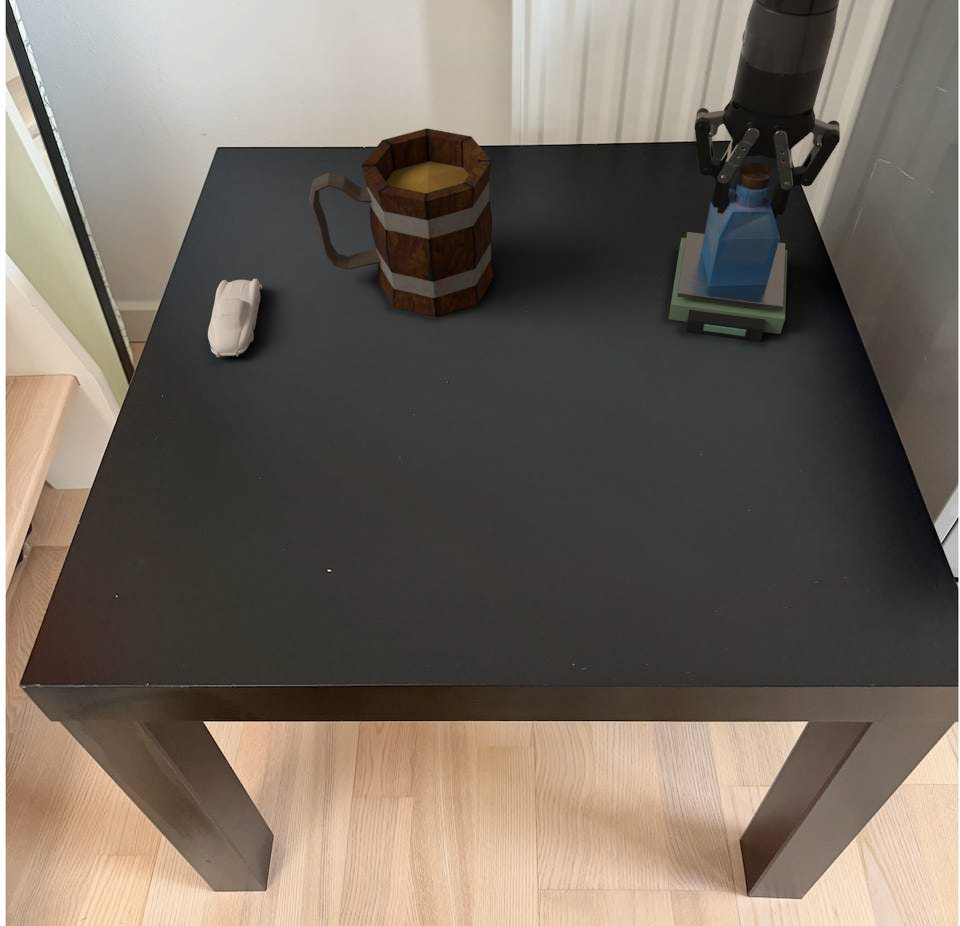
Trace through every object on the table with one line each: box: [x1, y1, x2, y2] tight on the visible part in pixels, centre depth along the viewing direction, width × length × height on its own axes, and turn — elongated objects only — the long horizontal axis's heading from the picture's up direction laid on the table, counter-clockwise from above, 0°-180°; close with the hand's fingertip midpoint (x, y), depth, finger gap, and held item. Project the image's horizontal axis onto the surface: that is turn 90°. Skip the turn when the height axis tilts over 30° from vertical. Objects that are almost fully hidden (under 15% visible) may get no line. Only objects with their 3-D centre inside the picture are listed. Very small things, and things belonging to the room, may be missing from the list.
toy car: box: [207, 278, 263, 358], centre depth 100 cm, size 5×12×4 cm, turn 2°
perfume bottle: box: [701, 161, 781, 286], centre depth 95 cm, size 6×6×12 cm
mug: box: [308, 127, 495, 318], centre depth 100 cm, size 20×14×15 cm
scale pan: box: [677, 231, 786, 310], centre depth 100 cm, size 11×11×1 cm
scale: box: [668, 237, 788, 342], centre depth 101 cm, size 12×14×2 cm
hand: (746, 211), depth 94 cm, fingers closed on perfume bottle, 4 cm apart
